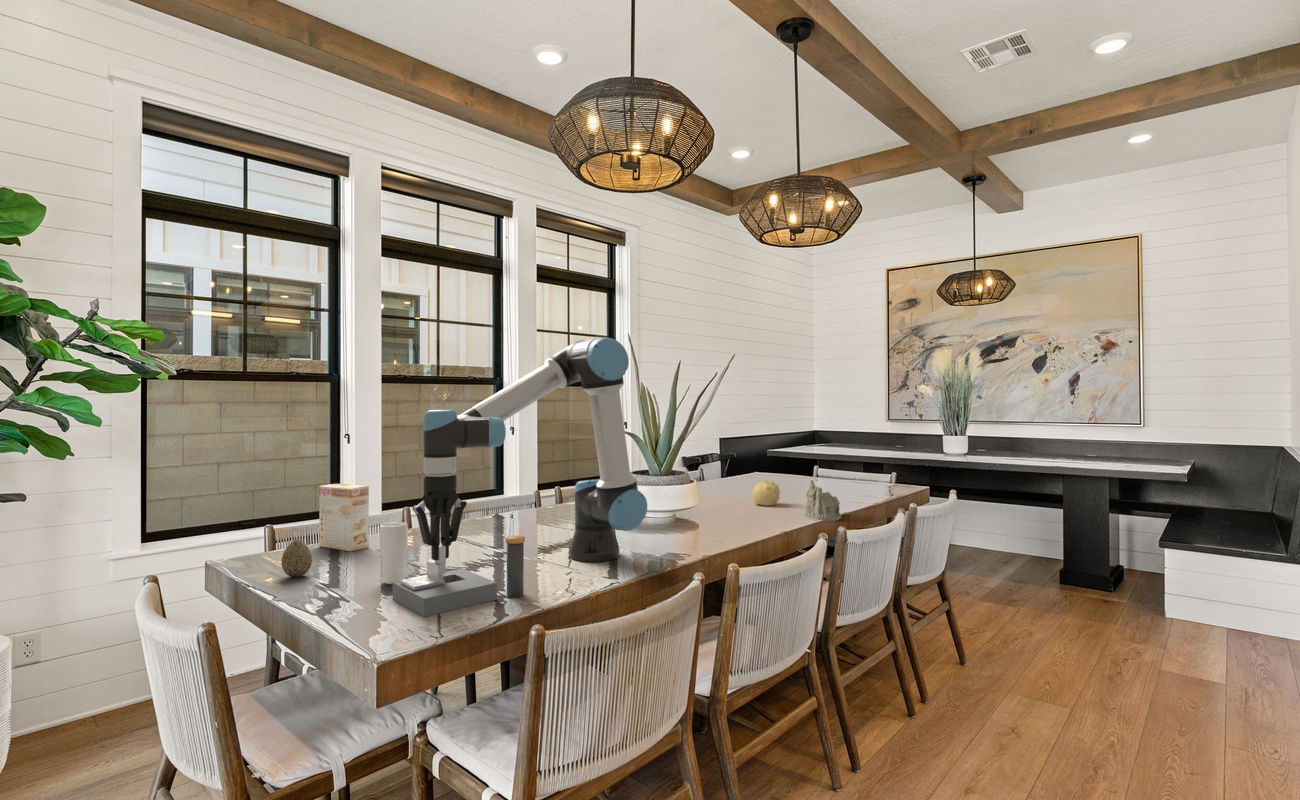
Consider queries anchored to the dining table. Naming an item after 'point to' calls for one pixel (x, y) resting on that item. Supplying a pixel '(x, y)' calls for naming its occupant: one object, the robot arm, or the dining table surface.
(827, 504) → the ceramic cottage
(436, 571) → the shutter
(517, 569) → the plug
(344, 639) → the dining table surface
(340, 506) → the coffeecake box
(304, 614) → the dining table surface
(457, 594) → the socket block
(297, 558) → the decorative egg
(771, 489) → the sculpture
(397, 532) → the drinking glass
